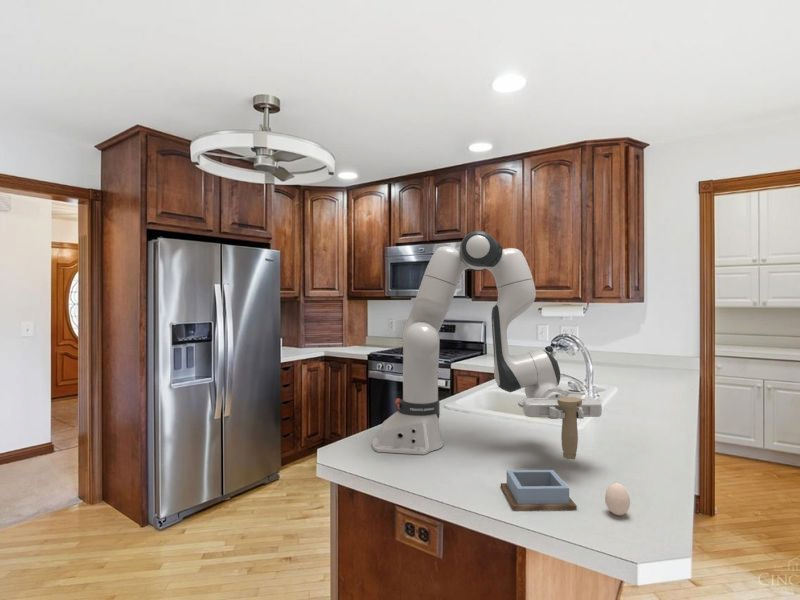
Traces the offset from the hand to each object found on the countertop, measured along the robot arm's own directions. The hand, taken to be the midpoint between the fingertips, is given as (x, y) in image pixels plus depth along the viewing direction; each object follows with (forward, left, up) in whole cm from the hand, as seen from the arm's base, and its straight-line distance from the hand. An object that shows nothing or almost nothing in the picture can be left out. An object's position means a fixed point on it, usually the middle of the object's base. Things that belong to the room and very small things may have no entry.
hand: (571, 415), depth 114 cm
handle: (0, +1, -11) cm, 12 cm away
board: (-12, -9, -17) cm, 22 cm away
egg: (+3, -17, -17) cm, 24 cm away
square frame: (-12, -9, -17) cm, 22 cm away
